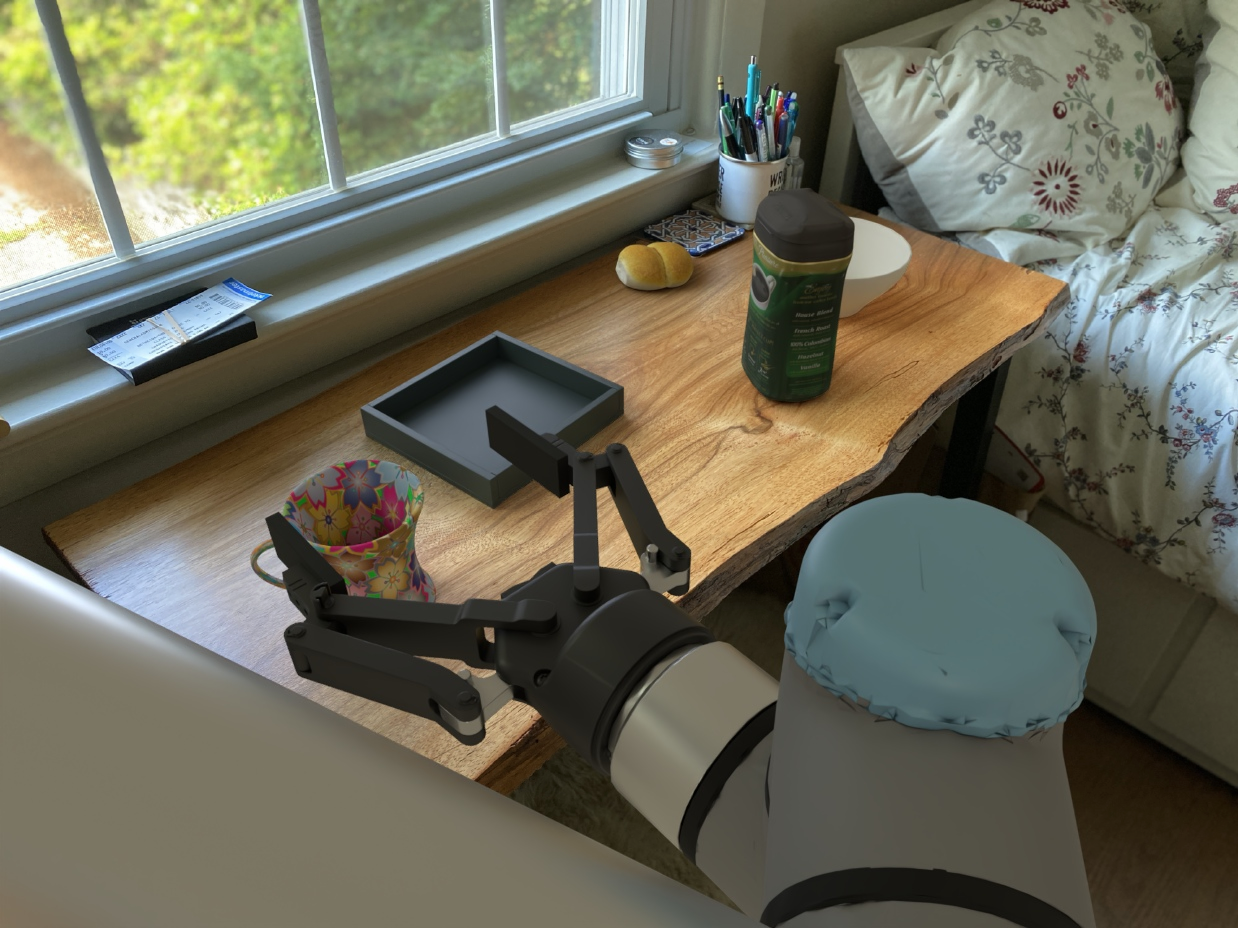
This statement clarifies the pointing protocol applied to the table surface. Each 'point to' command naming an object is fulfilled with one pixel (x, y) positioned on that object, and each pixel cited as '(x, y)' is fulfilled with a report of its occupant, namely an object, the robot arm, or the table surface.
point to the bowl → (873, 265)
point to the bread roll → (654, 266)
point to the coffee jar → (795, 294)
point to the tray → (456, 420)
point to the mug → (361, 528)
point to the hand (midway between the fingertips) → (392, 476)
